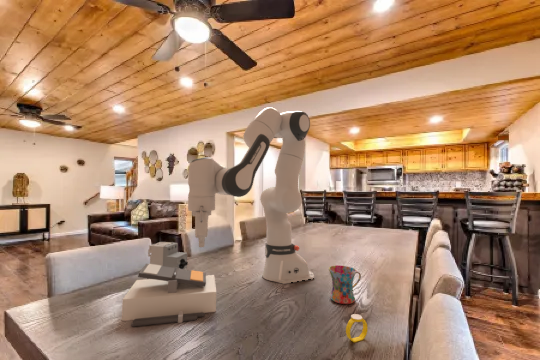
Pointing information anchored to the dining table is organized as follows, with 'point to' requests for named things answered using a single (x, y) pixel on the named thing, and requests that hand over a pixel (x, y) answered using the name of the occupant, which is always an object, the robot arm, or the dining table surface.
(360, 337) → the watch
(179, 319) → the dark grey piece
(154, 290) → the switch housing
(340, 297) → the mug
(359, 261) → the dining table surface
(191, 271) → the block
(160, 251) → the circuit breaker
